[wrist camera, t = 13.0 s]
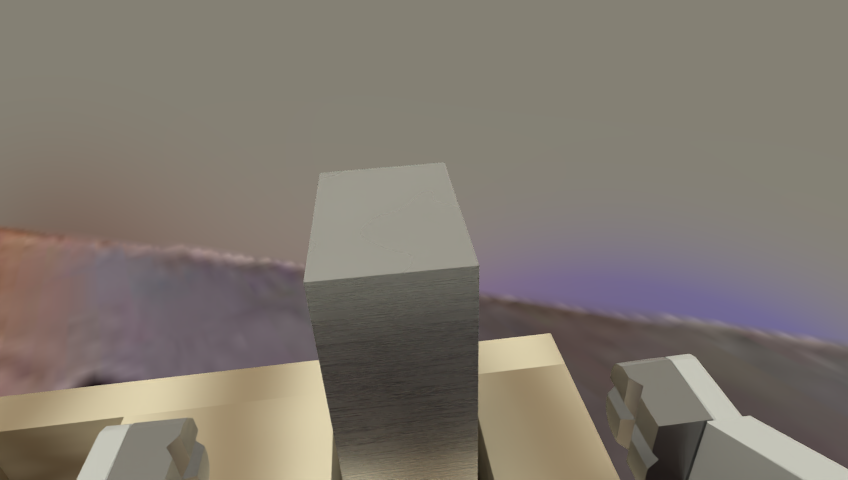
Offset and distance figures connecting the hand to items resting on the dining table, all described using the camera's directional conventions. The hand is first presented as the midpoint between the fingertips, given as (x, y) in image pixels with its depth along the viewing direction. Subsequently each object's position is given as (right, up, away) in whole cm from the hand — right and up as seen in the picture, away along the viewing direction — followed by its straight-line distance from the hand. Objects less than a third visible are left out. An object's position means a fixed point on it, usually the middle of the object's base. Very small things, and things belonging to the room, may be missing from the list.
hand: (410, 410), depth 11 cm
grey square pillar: (0, -7, +7) cm, 10 cm away
